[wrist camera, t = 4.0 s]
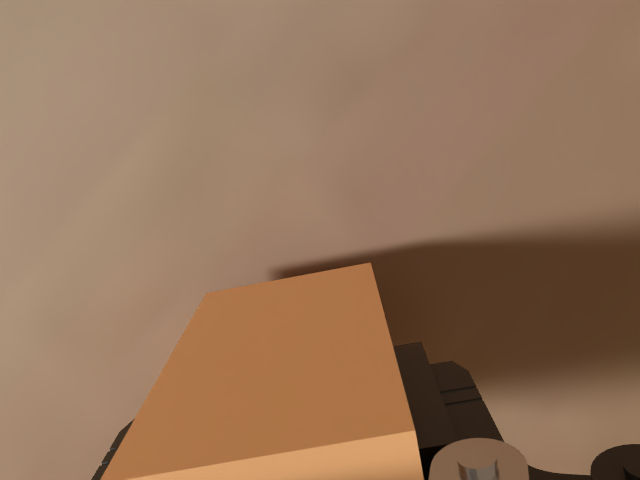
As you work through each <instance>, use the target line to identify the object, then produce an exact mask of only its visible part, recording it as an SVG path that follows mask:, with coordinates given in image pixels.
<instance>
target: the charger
mask: <svg viewBox="0 0 640 480" xmlns="http://www.w3.org/2000/svg"><path fill="white" fill-rule="evenodd" d="M100 480H424V477H423V471H422V466H421V460H420V454H419V449H418V443H417V437H416V432H415V428H414V424H413V420H412V416H411V412H410V409H409V405H408V401H407V397H406V394H405V390H404V386H403V382H402V379H401V375H400V371H399V367H398V363H397V360H396V356H395V352H394V348H393V345H392V341H391V337H390V333H389V330H388V326H387V322H386V318H385V315H384V311H383V307H382V303H381V299H380V296H379V292H378V288H377V284H376V281H375V277H374V273H373V269H372V266H371V263H365V264H360V265H354V266H349V267H344V268H338V269H333V270H328V271H322V272H317V273H312V274H306V275H301V276H295V277H290V278H285V279H279V280H274V281H269V282H263V283H258V284H253V285H247V286H242V287H236V288H231V289H226V290H220V291H215V292H210V293H206V295H205V296H204V298H203V300H202V302H201V303H200V305H199V307H198V309H197V310H196V312H195V314H194V316H193V317H192V319H191V321H190V323H189V324H188V326H187V328H186V330H185V331H184V333H183V335H182V337H181V339H180V340H179V342H178V344H177V346H176V347H175V349H174V351H173V353H172V354H171V356H170V358H169V360H168V361H167V363H166V365H165V367H164V368H163V370H162V372H161V374H160V375H159V377H158V379H157V381H156V383H155V384H154V386H153V388H152V390H151V391H150V393H149V395H148V397H147V398H146V400H145V402H144V404H143V405H142V407H141V409H140V411H139V412H138V414H137V416H136V418H135V419H134V421H133V423H132V425H131V426H130V428H129V430H128V432H127V434H126V435H125V437H124V439H123V441H122V442H121V444H120V446H119V448H118V449H117V451H116V453H115V455H114V456H113V458H112V460H111V462H110V463H109V465H108V467H107V469H106V470H105V472H104V474H103V476H102V478H101V479H100Z"/></svg>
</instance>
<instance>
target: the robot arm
mask: <svg viewBox="0 0 640 480" xmlns="http://www.w3.org/2000/svg"><path fill="white" fill-rule="evenodd" d="M393 348H394V352H395V356H396V360H397V363H398V367H399V371H400V375H401V379H402V382H403V386H404V390H405V394H406V397H407V401H408V405H409V409H410V412H411V416H412V420H413V424H414V428H415V432H416V437H417V443H418V449H419V454H420V460H421V466H422V471H423V477H424V480H640V444H630V445H621V446H617V447H613V448H610V449H608V450H606V451H604V452H602V453H601V454H599V455H598V456H597V457H596V458H595V460H594V461H593V463H592V465H591V476H590V475H573V474H560V473H552V472H547V471H543V470H539V469H536V468H534V467H531V466H529V465H527V461H526V459H525V457H524V456H523V455H522V454H521V452H520V451H519V450H517V449H516V448H515V447H513V446H511V445H509V444H507V443H505V442H504V441H503V439H502V437H501V435H500V433H499V431H498V429H497V427H496V425H495V423H494V421H493V419H492V417H491V415H490V413H489V411H488V409H487V407H486V405H485V403H484V401H482V397H481V395H480V393H479V391H478V389H476V385H475V383H474V381H473V379H472V377H471V375H470V373H469V371H467V370H466V369H464V368H462V367H461V366H459V365H458V364H456V363H454V362H453V361H448V362H442V363H437V364H431V365H430V364H429V362H428V359H427V356H426V354H425V351H424V349H423V346H422V343H421V342H417V343H412V344H406V345H400V346H395V347H393ZM133 421H134V420H133ZM133 421H131V422H130V423H129V424H128V425H127V426H126V427H125V428H124V429H122V430H121V431H120V432H119V434H118V436H117V437H116V439H115V441H114V442H113V444H112V446H111V448H110V452H108V453H107V454H106V456H105V458H104V459H103V461H102V466H99V468H98V470H97V471H96V473H95V475H94V476H93V478H92V480H100V479H101V478H102V476H103V474H104V472H105V470H106V469H107V467H108V465H109V463H110V462H111V460H112V458H113V456H114V455H115V453H116V451H117V449H118V448H119V446H120V444H121V442H122V441H123V439H124V437H125V435H126V434H127V432H128V430H129V428H130V426H131V425H132V423H133Z"/></svg>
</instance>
